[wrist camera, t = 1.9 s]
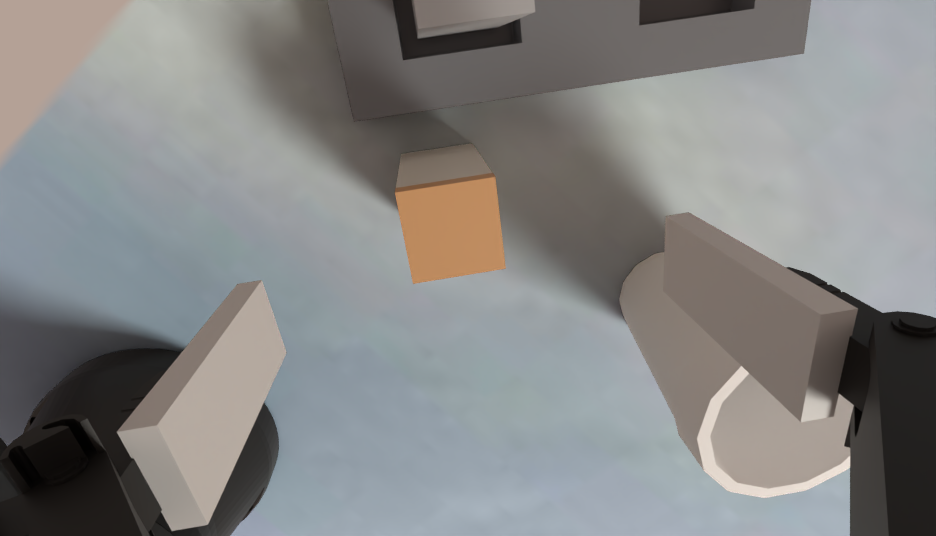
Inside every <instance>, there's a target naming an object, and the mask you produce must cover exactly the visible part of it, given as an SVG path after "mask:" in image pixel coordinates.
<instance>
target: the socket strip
mask: <svg viewBox="0 0 936 536" xmlns="http://www.w3.org/2000/svg"><path fill="white" fill-rule="evenodd" d="M534 1H535V12H534V13H532V14H529V15H527V16H524V17H522V18H519V19H517V20H515V21H512V22H510V23H507V24H505V25H502V26H500V27H498V28H492V29H485V30H479V31H472V32H465V33H458V34H451V35H444V36H437V37H430V38H424V39H417V32H416V26H415V20H414V14H413V7H412V1H411V0H327V2H328V7H329V11H330V16H331V20H332V25H333V29H334V34H335V38H336V43H337V47H338V52H339V56H340V61H341V65H342V70H343V74H344V79H345V83H346V88H347V92H348V97H349V101H350V106H351V110H352V115H353V119H354V121H361V120H368V119H374V118H381V117H387V116H394V115H401V114H407V113H414V112H421V111H427V110H434V109H440V108H447V107H454V106H460V105H467V104H473V103H480V102H487V101H493V100H500V99H507V98H513V97H520V96H526V95H533V94H540V93H546V92H553V91H559V90H566V89H573V88H579V87H586V86H593V85H599V84H606V83H612V82H619V81H626V80H632V79H639V78H646V77H652V76H659V75H665V74H672V73H679V72H685V71H692V70H698V69H705V68H712V67H718V66H725V65H732V64H738V63H745V62H751V61H758V60H765V59H771V58H778V57H784V56H791V55H798V54H804V49H805V41H806V34H807V27H808V19H809V12H810V5H811V0H534Z"/></svg>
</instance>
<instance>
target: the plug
mask: <svg viewBox="0 0 936 536" xmlns="http://www.w3.org/2000/svg"><path fill="white" fill-rule="evenodd" d="M395 196H396V201H397V206H398V211H399V216H400V221H401V225H402V230H403V235H404V240H405V245H406V250H407V255H408V260H409V265H410V270H411V275H412V280H413V284H415V283H421V282H427V281H433V280H439V279H445V278H451V277H457V276H463V275H469V274H475V273H481V272H487V271H494V270H500V269H506V267H505V258H504V249H503V241H502V232H501V223H500V214H499V205H498V196H497V187H496V178H495V176H494V174H493V173H492V171H491V170H490V168H489V167H488V165H487V164H486V163H485V161H484V160H483V158H482V157H481V155H480V154H479V152H478V151H477V149H476V148H475V146H474V145H473V144H472V143H469V144H463V145H456V146H450V147H443V148H437V149H430V150H424V151H417V152H411V153H404V154H401V157H400V164H399V170H398V176H397V183H396V189H395Z"/></svg>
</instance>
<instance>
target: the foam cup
mask: <svg viewBox="0 0 936 536" xmlns="http://www.w3.org/2000/svg"><path fill="white" fill-rule="evenodd" d="M663 279H664V252H661V253H655V254H653V255H652V256H650V257H648V258H647V259H645V260H643V261H642V262H640V263H638V264H637V265H636V266H635V267H634V268H633V270H632V271H631V272H630V274H629V275H628V276H627V278H626V279H625V280H624V282H623V286H622V290H621V294H620V298H619V302H620V306H621V309H622V313H623V317H624V318H625V321H626V323H627V325H628V327H629V329H630V331H631V333H632V335H633V337H634V339H635V341H636V343H637V345H638V347H639V349H640V351H641V353H642V355H643V357H644V359H645V361H646V363H647V364H648V366H649V368H650V370H651V372H652V374H653V376H654V378H655V380H656V382H657V384H658V386H659V388H660V390H661V392H662V394H663V396H664V398H665V400H666V402H667V404H668V406H669V408H670V410H671V412H672V414H673V416H674V418H675V421H676V425H677V429H678V434H679V436H680V437H681V439H682V440H683V441H684V443H685V444H686V446H687V447H688V449H689V450H690V451H691V453H692V454H693V456H694V457H695V459H696V460H697V461H698V463H699V464H700V466H701V467H702V469H703V470H704V471H705V472H706V473H707V474H708V475H710V476H711V477H712V478H713V479H714V480H716V481H717V482H718V483H719V484H720V485H721V486H723V487H724V488H725V489H726V490H727V491H729V492H735V493H740V494H745V495H751V496H756V497H762V498H767V497H773V496H778V495H784V494H789V493H794V492H800V491H805V490H808V489H810V488H812V487H814V486H816V485H818V484H820V483H822V482H824V481H826V480H828V479H830V478H832V477H834V476H836V475H838V474H840V473H841V472H843V471H845V470H847V469H848V468H849V467H850V448H849V447H845V446H844V444H845V439H846V435H847V431H848V427H849V423H850V419H851V414H852V410H853V406H854V405H853V404H851V403H850V402H849V401H848V400H846V399H845V398H844V397H843V396H841V395H840V394H839V396H838V400H837V405H836V409H835V414H834V417H829V418H823V419H817V420H811V421H806V422H800V421H799V420H798V419H797V418H796V417H794V416H793V415H792V414H791V413H790V412H789V411H788V410H787V409H786V408H785V407H784V406H783V405H782V404H781V403H780V402H779V401H778V400H777V399H776V398H775V397H774V396H772V395H771V394H770V393H769V392H768V391H767V390H766V389H765V388H764V387H763V386H762V385H761V384H760V383H759V382H758V381H757V380H756V379H755V378H754V377H753V376H751V375H750V374H749V373H748V372H747V371H746V370H745V369H744V368H743V367H742V366H741V365H740V364H739V363H738V362H737V361H736V360H735V359H734V358H733V357H732V356H731V355H729V354H728V353H727V352H726V351H725V350H724V349H723V348H722V347H721V346H720V345H719V344H718V343H717V342H716V341H715V340H714V339H713V338H712V337H711V336H710V335H709V334H707V333H706V332H705V331H704V330H703V329H702V328H701V327H700V326H699V325H698V324H697V323H696V322H695V321H694V320H693V319H692V318H691V317H690V316H689V315H688V314H686V313H685V312H684V311H683V310H682V309H681V308H680V307H679V306H678V305H677V304H676V303H675V302H674V301H673V300H672V299H671V298H670V297H669V296H668V295H667V294H666V293H664V292H663Z"/></svg>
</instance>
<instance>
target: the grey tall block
mask: <svg viewBox="0 0 936 536" xmlns="http://www.w3.org/2000/svg"><path fill="white" fill-rule="evenodd" d="M411 1H412V7H413V14H414V20H415V26H416V32H417V39H424V38H430V37H437V36H444V35H451V34H458V33H465V32H472V31H479V30H485V29H492V28H498V27H500V26H502V25H505V24H507V23H510V22H512V21H515V20H517V19H519V18H522V17H524V16H527V15H529V14H532V13H534V12H535V1H534V0H411Z"/></svg>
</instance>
